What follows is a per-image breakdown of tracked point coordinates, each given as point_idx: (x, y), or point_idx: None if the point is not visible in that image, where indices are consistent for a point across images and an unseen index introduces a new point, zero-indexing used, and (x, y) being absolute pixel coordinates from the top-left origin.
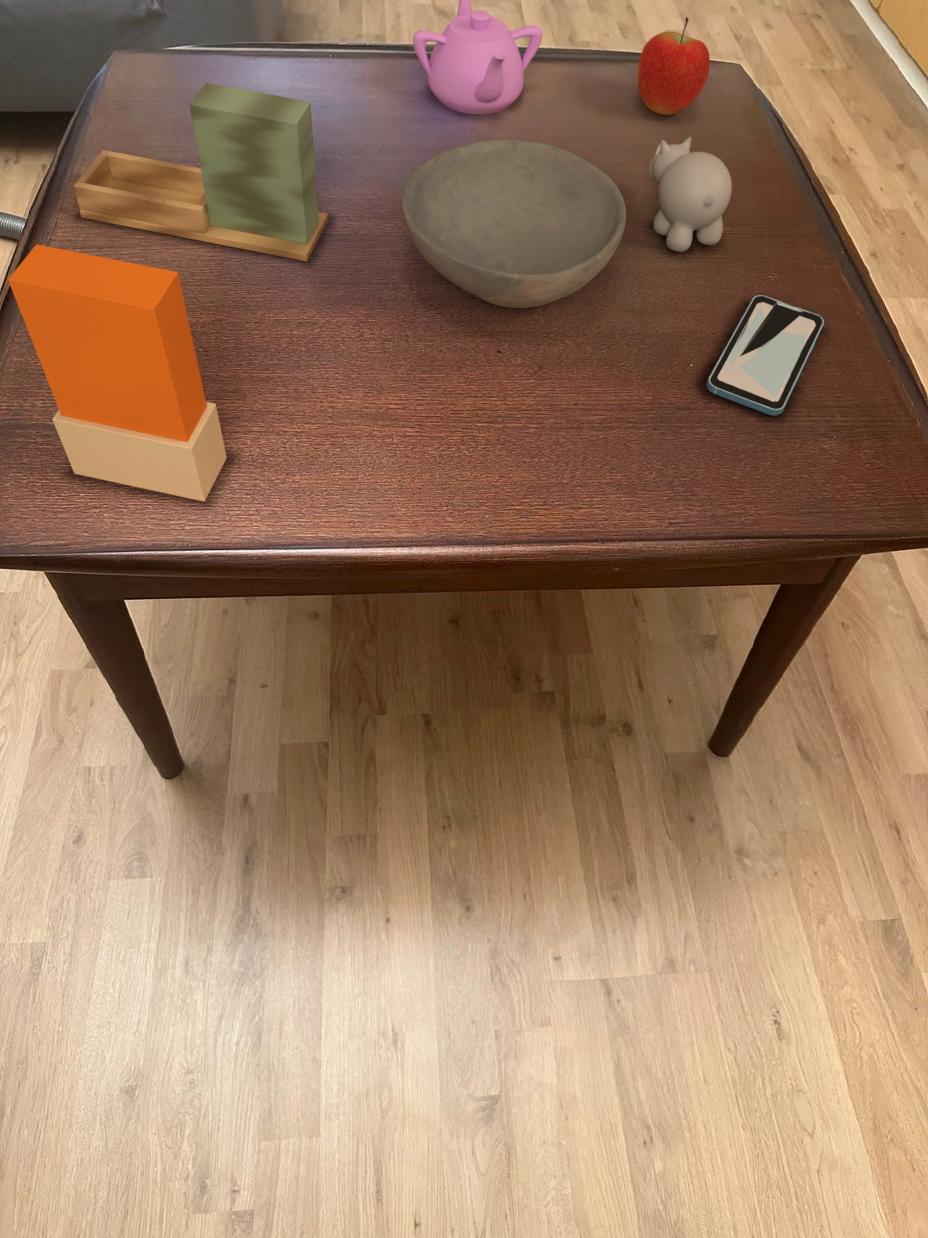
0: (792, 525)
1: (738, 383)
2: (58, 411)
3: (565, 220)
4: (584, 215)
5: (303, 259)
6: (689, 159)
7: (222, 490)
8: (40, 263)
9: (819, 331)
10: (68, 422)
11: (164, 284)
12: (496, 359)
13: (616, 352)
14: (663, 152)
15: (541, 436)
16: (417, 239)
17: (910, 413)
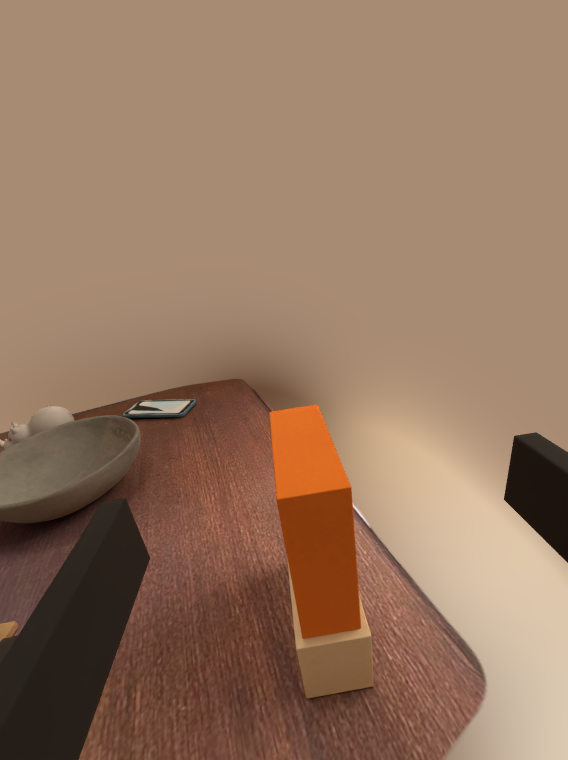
0: (248, 391)
1: (180, 408)
2: (358, 636)
3: (52, 464)
4: (58, 451)
5: (16, 627)
6: (42, 412)
7: None
8: (307, 478)
9: (148, 400)
10: (364, 615)
11: (287, 410)
12: (165, 473)
13: (158, 441)
14: (17, 431)
15: (222, 445)
16: (85, 483)
17: (188, 385)
